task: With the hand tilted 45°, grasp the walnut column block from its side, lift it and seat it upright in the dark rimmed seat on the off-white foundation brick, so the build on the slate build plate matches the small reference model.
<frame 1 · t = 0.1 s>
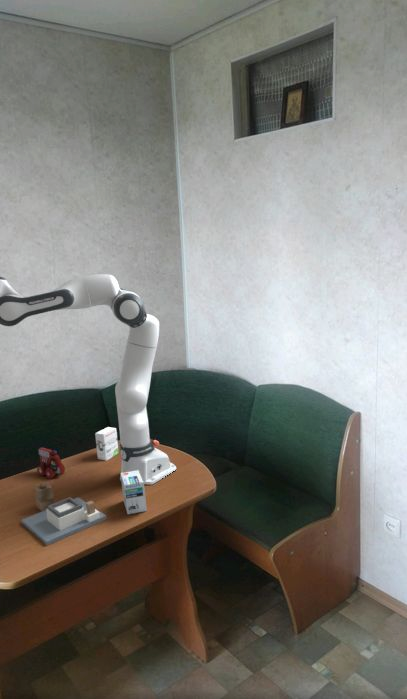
light bulb box: (134, 506, 183), on the table
toy fire truck: (52, 474, 213), on the table
build plate: (64, 521, 176), on the table
walnut block: (45, 507, 186), on the table
ink box: (108, 456, 228), on the table
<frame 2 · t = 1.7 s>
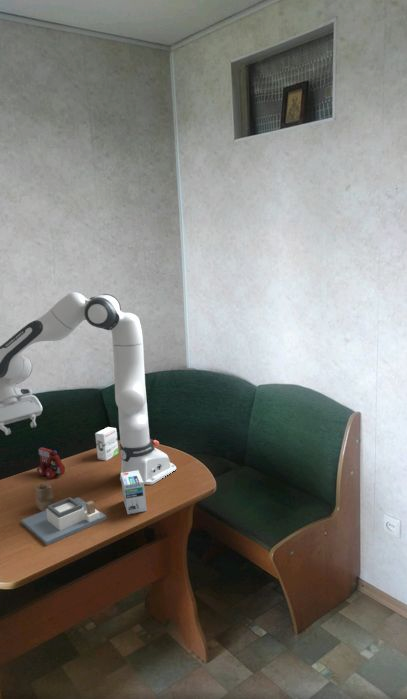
hand: (21, 430, 190), 25 cm above the table, tool tilted 45°, fingers open, 8 cm apart
nothing on the table moved.
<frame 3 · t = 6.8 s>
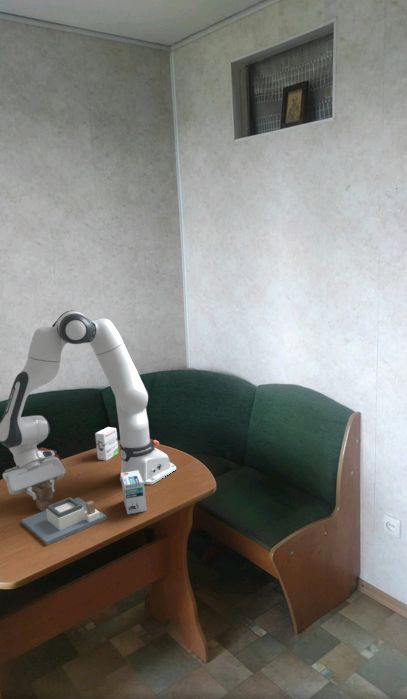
hand: (44, 496, 185), 4 cm above the table, tool tilted 45°, fingers closed on walnut block, 4 cm apart
walnut block: (45, 507, 186), on the table, touching gripper
everything else where it was.
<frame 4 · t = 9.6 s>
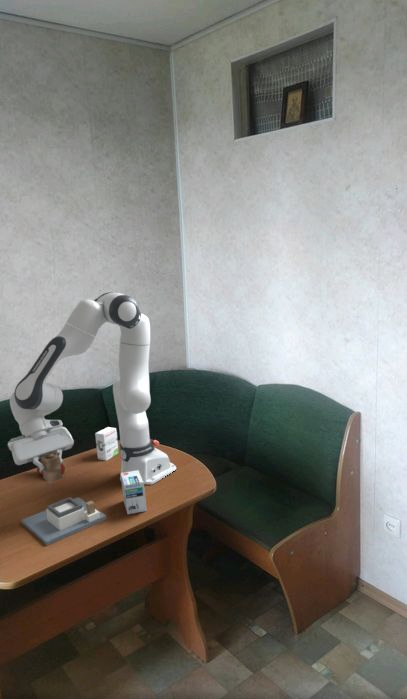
hand: (52, 466, 175), 18 cm above the table, tool tilted 45°, fingers closed on walnut block, 4 cm apart
walnut block: (52, 478, 177), point 14 cm above the table, touching gripper
everything else where it was.
when the fingers open (11 cm above the table, at t = 12.4 s): walnut block stays where it is, resting on build plate.
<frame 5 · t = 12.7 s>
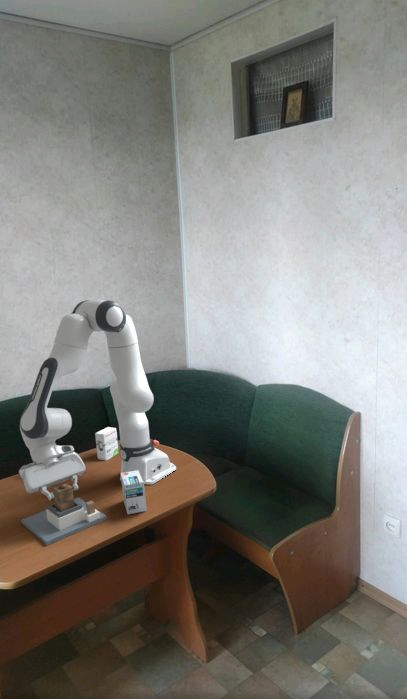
hand: (64, 494, 172), 11 cm above the table, tool tilted 45°, fingers open, 7 cm apart
walnut block: (65, 508, 174), point 5 cm above the table, touching build plate
everything else where it was.
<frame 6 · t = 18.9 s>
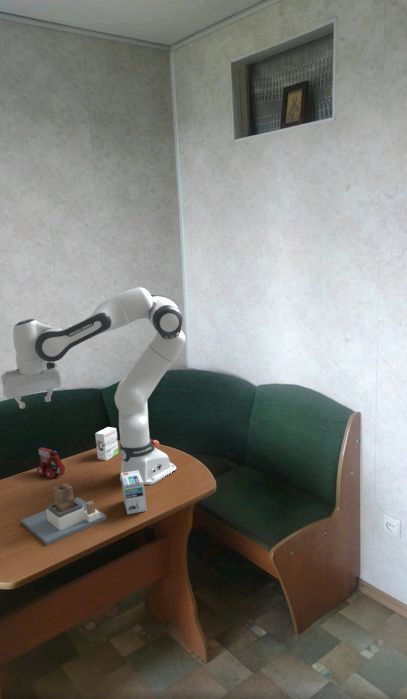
hand: (35, 404, 187), 35 cm above the table, tool pointing down, fingers open, 8 cm apart
nothing on the table moved.
at the end: walnut block 0.1 cm from the target spot on the build plate, point 5.2 cm above the build plate's base; walnut block tilted 0°; the gripper is holding nothing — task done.
